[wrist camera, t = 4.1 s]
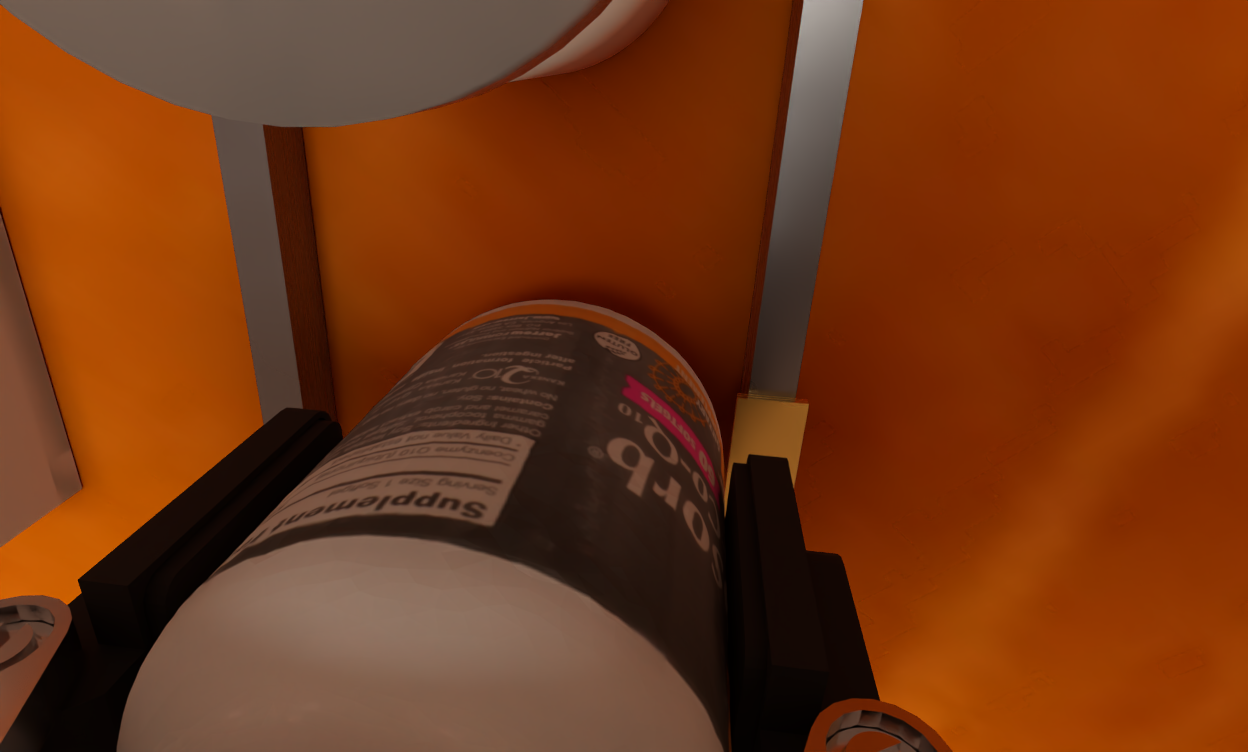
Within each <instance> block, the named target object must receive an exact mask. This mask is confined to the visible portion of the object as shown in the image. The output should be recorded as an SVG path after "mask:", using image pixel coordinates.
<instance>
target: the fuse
mask: <svg viewBox="0 0 1248 752" xmlns="http://www.w3.org/2000/svg"><path fill="white" fill-rule="evenodd" d="M669 1H670V0H0V4H1V5H2V6H3V7H5V8H6V9H7V10H8V11H9V12H10V13H12V14H13V15H14V16H15V17H17V18H18V19H20V20H21V21H23V22H24V23H25V24H27V25H28V26H30V27H31V28H33V29H34V30H35V31H37V32H38V33H40V34H41V35H43V36H44V37H45V38H47V39H48V40H50V41H51V42H53V43H54V44H55V45H57V46H58V47H60V48H61V49H63V50H64V51H65V52H67V53H69V54H70V55H72V56H74V57H76V58H78V59H79V60H81V61H83V62H85V63H87V64H88V65H90V66H92V67H94V68H96V69H97V70H99V71H101V72H103V73H105V74H106V75H108V76H110V77H112V78H114V79H116V80H117V81H119V82H121V83H123V84H126V85H128V86H131V87H133V88H136V89H138V90H140V91H143V92H145V93H148V94H150V95H152V96H155V97H157V98H160V99H162V100H165V101H167V102H169V103H172V104H174V105H178V106H181V107H185V108H189V109H192V110H196V111H199V112H203V113H207V114H210V115H214V116H218V117H221V118H225V119H228V120H236V121H243V122H250V123H257V124H265V125H272V126H279V127H337V126H344V125H351V124H357V123H364V122H371V121H377V120H384V119H390V118H394V117H399V116H404V115H408V114H413V113H417V112H422V111H427V110H431V109H436V108H440V107H443V106H447V105H450V104H453V103H456V102H460V101H463V100H466V99H469V98H473V97H476V96H479V95H482V94H484V93H486V92H488V91H490V90H493V89H495V88H497V87H499V86H501V85H503V84H505V83H507V82H513V81H519V80H525V79H532V78H538V77H545V76H551V75H557V74H564V73H570V72H575V71H578V70H581V69H584V68H588V67H591V66H593V65H596V64H598V63H600V62H602V61H604V60H606V59H608V58H611V57H612V56H614V55H615V54H617V53H618V52H620V51H621V50H623V49H624V48H626V47H627V46H629V45H630V44H631V43H632V42H633V41H635V40H636V39H637V38H638V37H639V36H640V35H642V34H643V33H644V32H645V31H646V30H647V29H648V27H649V26H650V25H651V24H652V23H653V22H654V21H655V20H656V18H657V17H658V16H659V15H660V14H661V12H662V11H663V9H664V8H665V6H666V5H667V3H668V2H669Z"/></svg>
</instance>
